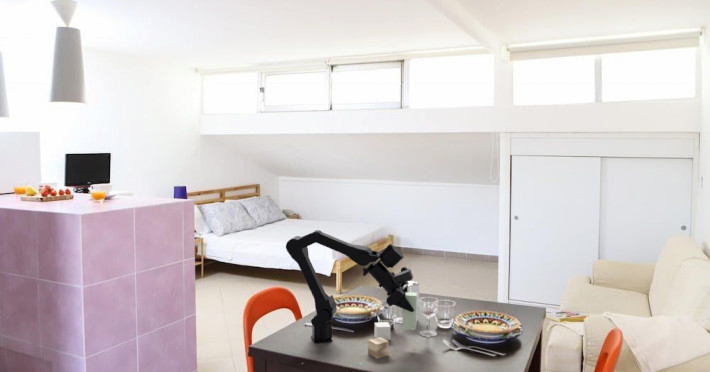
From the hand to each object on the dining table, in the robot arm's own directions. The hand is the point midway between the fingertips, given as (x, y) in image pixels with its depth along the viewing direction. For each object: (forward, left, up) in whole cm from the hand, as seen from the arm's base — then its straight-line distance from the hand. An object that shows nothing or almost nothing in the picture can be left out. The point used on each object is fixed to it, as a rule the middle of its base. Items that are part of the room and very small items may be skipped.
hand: (413, 309), depth 194 cm
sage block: (-1, +1, -7) cm, 7 cm away
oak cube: (-14, -3, -14) cm, 20 cm away
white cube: (-7, +12, -14) cm, 19 cm away
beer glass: (+11, +28, -14) cm, 33 cm away
